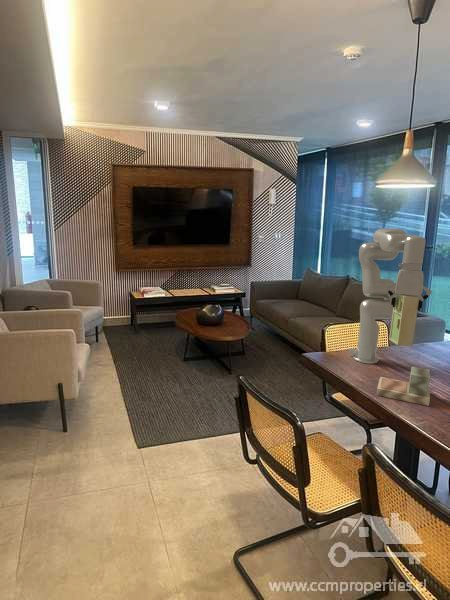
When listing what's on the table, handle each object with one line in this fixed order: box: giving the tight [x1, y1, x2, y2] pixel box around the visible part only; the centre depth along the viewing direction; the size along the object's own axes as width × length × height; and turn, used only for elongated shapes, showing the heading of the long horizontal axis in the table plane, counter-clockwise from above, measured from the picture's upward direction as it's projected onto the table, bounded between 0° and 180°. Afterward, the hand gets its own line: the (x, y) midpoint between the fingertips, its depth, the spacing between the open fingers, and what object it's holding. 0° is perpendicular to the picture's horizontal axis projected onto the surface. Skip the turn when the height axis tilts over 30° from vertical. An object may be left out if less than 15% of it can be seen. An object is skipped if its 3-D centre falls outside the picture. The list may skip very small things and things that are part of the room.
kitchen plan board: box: [376, 366, 431, 407], centre depth 179 cm, size 20×14×11 cm
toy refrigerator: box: [388, 294, 420, 347], centre depth 177 cm, size 8×7×21 cm
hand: (405, 308), depth 175 cm, fingers closed on toy refrigerator, 9 cm apart
